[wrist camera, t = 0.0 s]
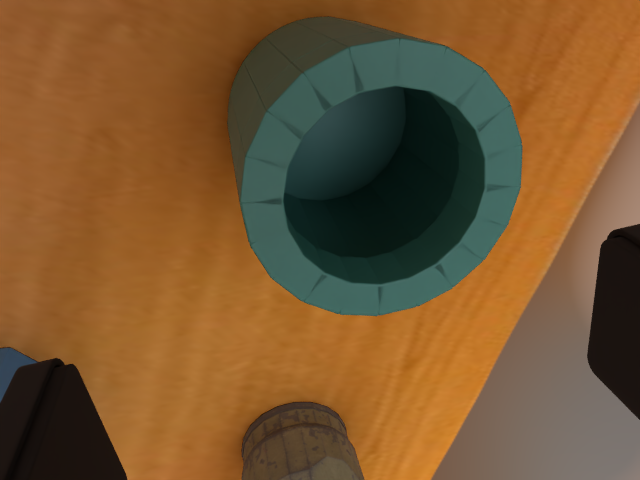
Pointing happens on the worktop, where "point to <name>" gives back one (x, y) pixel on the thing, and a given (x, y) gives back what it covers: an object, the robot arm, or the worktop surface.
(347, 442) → the thermos
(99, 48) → the worktop surface
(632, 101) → the worktop surface
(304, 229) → the teal hollow cylinder
